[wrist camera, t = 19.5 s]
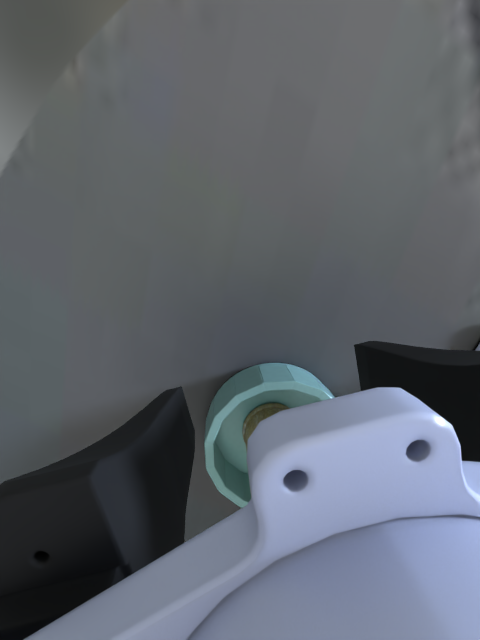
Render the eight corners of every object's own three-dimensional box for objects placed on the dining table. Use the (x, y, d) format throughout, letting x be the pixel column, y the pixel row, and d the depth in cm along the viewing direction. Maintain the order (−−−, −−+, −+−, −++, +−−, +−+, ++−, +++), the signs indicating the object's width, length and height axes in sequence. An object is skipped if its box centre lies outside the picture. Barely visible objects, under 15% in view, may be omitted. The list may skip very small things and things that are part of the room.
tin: (336, 358, 24) (356, 377, 21) (332, 473, 26) (349, 507, 23) (203, 366, 23) (200, 386, 20) (210, 483, 26) (209, 519, 22)
